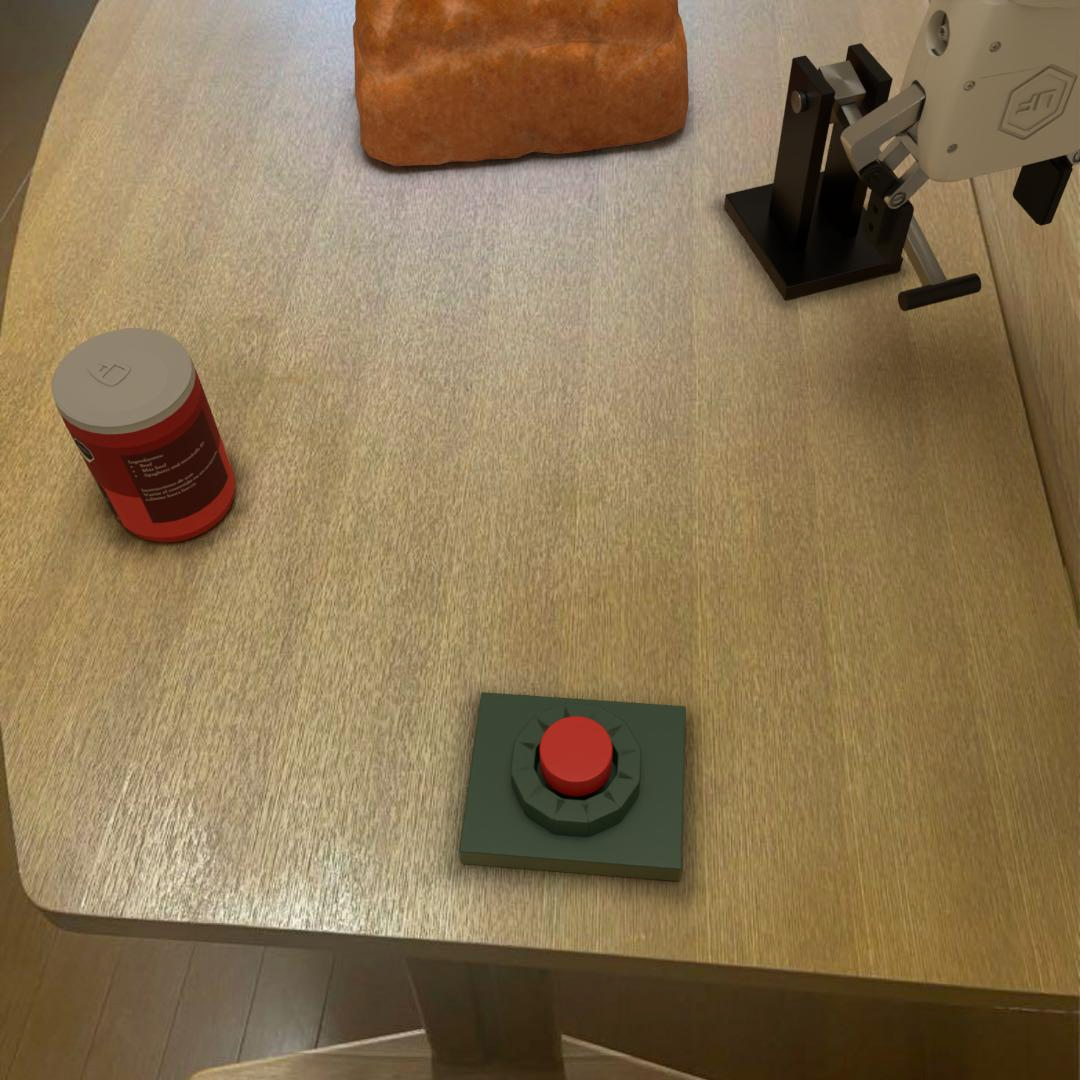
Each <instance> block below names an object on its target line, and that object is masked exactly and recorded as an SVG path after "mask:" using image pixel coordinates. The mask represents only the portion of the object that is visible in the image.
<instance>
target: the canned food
mask: <svg viewBox="0 0 1080 1080" xmlns="http://www.w3.org/2000/svg"><path fill="white" fill-rule="evenodd" d="M51 394H52V397H53V401H54V403H55V407H56V409H57V411H58V413H59V415H60V417H61V418H62V421H63V423H64V425H65V427H66V429H67V431H68V433H69V435H70V437H71V438H72V441H73V442H74V444H75V446H76V447H77V448H76V449H78V451H79V453H80V455H81V457H82V459H83V461H84V463H85V464H86V466H87V468H88V470H89V472H90V474H91V476H92V477H93V480H94V481H95V483H96V485H97V487H98V490H99V491H100V493H101V494H102V496H103V498H104V500H105V502H106V504H107V505H108V507H109V508H108V509H110V512H111V513H112V515H113V516H114V518H115V519H116V521H117V522H118V523H120V525H122V526H123V527H124V528H125V529H126V530H127V531H129V532H130V533H132V534H133V535H135V536H137V537H139V538H140V539H144V540H147V541H151V542H157V543H176V542H181V541H187V540H189V539H192V538H196V537H198V536H200V535H202V534H204V533H206V532H208V531H209V530H210V529H212V528H214V527H215V526H216V525H217V524H219V522H220V521H221V520H223V519H224V518H225V516H226V514H227V513H228V512H229V510H230V509H231V505H232V503H233V501H234V496H235V488H236V486H235V485H236V479H235V472H234V469H233V467H232V464H231V462H230V459H229V455H228V453H227V450H226V447H225V444H224V442H223V439H222V436H221V434H220V431H219V428H218V425H217V423H216V420H215V418H214V415H213V412H212V409H211V407H210V404H209V401H208V397H207V396H206V392H205V390H204V388H203V385H202V381H201V379H200V376H199V373H198V371H197V369H196V367H195V364H194V362H193V360H192V357H191V356H190V355H189V352H188V350H187V349H186V348H185V346H184V345H183V344H182V343H181V342H180V341H178V340H177V338H175V337H173V336H171V335H169V334H167V333H165V332H162V331H159V330H158V331H157V330H155V329H151V328H141V327H135V328H134V327H133V328H131V327H130V328H129V327H128V328H120V329H114V330H109V331H107V332H106V331H105V332H103V333H100V334H97V335H95V336H92V337H90V338H88V339H87V340H84V341H83V342H81V343H79V344H78V345H76V346H75V347H74V348H73V349H72V350H70V351H69V352H68V353H67V354H66V355H65V356H64V357H63V358H62V360H61V361H60V362H59V363H58V365H57V367H56V369H55V371H54V372H53V376H52V380H51Z"/></svg>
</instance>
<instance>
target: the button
mask: <svg viewBox="0 0 1080 1080" xmlns="http://www.w3.org/2000/svg"><path fill="white" fill-rule="evenodd" d="M612 753H613V747H612V742H611V739H610V736H609V734H608V733H607V731H606V730H605V729H604V728H603V727H602V726H601V725H600V724H599V723H597V722H596V721H594V720H592V719H589V718H586V717H580V716H572V717H566V718H563V719H560V720H558V721H556V722H555V723H553V724H552V725H551V726H550V727H549V728H548V729H547V730H546V731H545V733H544V734H543V736H542V739H541V742H540V765H541V771H542V774H543V777H544V779H545V780H546V782H547V783H548V784H549V785H550V786H551V787H552V788H553V789H554V790H556V791H558V792H559V793H562V794H564V795H568V796H585V795H588V794H591V793H593V792H595V791H597V790H598V789H600V788H601V787H602V786H603V785H604V784H605V782H606V781H607V780H608V778H609V776H610V773H611V769H612Z"/></svg>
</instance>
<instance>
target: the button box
mask: <svg viewBox="0 0 1080 1080" xmlns="http://www.w3.org/2000/svg"><path fill="white" fill-rule="evenodd" d="M686 713H687V708H686V706H685V705H674V704H673V705H672V704H671V705H670V704H656V703H643V702H629V701H614V700H601V699H600V700H599V699H587V698H586V699H584V698H571V697H558V696H541V695H529V694H528V695H526V694H516V693H515V694H513V693H498V692H484V691H482V692H480V698H479V704H478V711H477V719H476V726H475V734H474V740H473V747H472V754H471V762H470V769H469V775H468V776H469V777H468V783H467V790H466V797H465V805H464V812H463V817H462V818H463V819H462V826H461V833H460V840H459V847H458V852H459V856H460V862H461V864H462V865H474V866H485V867H498V868H509V869H510V868H512V869H522V870H534V871H535V870H536V871H548V872H559V873H571V874H586V875H595V876H596V875H597V876H610V877H619V878H620V877H622V878H631V879H632V878H633V879H644V880H645V879H646V880H657V881H669V882H670V881H671V882H679V881H680V880H681V876H682V875H681V874H682V869H683V835H684V834H683V833H684V832H683V830H684V797H685V796H684V795H685V794H684V793H685V792H684V791H685V759H686V758H685V755H686V718H687V717H686V715H687V714H686ZM572 716H580V717H586V718H589V719H592V720H594V721H596V722H597V723H599V724H600V725H601V726H602V727H603V728H604V729H605V730H606V731H607V733H608V734H609V736H610V739H611V742H612V747H613V753H612V769H611V773H610V776H609V778H608V780H607V781H606V782H605V784H604V785H603V786H602V787H601V788H600V789H598V790H597V791H595V792H593V793H591V794H588V795H585V796H568V795H564V794H562V793H559V792H558V791H556V790H554V789H553V788H552V787H551V786H550V785H549V784H548V783H547V782H546V780H545V779H544V777H543V774H542V771H541V765H540V742H541V739H542V736H543V734H544V733H545V731H546V730H547V729H548V728H549V727H550V726H551V725H552V724H553V723H555V722H556V721H558V720H560V719H563V718H566V717H572Z"/></svg>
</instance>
